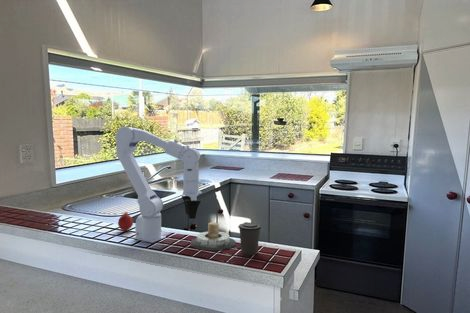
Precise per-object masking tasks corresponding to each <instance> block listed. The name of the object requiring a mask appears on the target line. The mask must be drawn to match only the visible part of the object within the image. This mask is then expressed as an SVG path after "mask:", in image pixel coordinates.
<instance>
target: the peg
mask: <svg viewBox="0 0 470 313" xmlns="http://www.w3.org/2000/svg"><path fill="white" fill-rule="evenodd" d="M219 228H220V223H218V222H213V221H212V222H209V223H208V224H207V232H208V238H219V232H220V231H219V230H220V229H219Z"/></svg>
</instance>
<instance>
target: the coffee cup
mask: <svg viewBox="0 0 470 313" xmlns="http://www.w3.org/2000/svg"><path fill="white" fill-rule="evenodd" d="M237 228H238V229H239V239H240V249H241V254H243V255H246V256H255V255H257V254H258V250H259V249H258V248H259V243H260V242H259V241H260V236H261V235H260V234H261V229H262V225H261V224H258V223H255V222H248V221H245V222H243V223H240V224H239V225H238V226H237Z"/></svg>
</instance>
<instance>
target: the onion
mask: <svg viewBox="0 0 470 313" xmlns="http://www.w3.org/2000/svg"><path fill="white" fill-rule="evenodd" d="M133 224H134V220H133V218H132V217H131V215H129V214H128V211H127V212H126V211H125V212H124V213H123V215H121V216H120V217H119V219H118V220H117V225H118V228H119V229H121V231H123V232H127V231H129V230H130V229H131V228H132V227H133Z"/></svg>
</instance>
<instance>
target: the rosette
mask: <svg viewBox="0 0 470 313" xmlns="http://www.w3.org/2000/svg"><path fill="white" fill-rule="evenodd" d="M236 245H237V242H236V240H235V239H233V238H231V237H230V234H228V233H227V232H223V231H219V238H208V231H203V232H200V233H198V234H196V238H193V239H192V240H190V247H192V248H194V249H197V250H201V251H207V252H208V251H210V252H214V251H215V252H216V251H217V252H218V251H225V250H229V249H232V248H234V247H236Z"/></svg>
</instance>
